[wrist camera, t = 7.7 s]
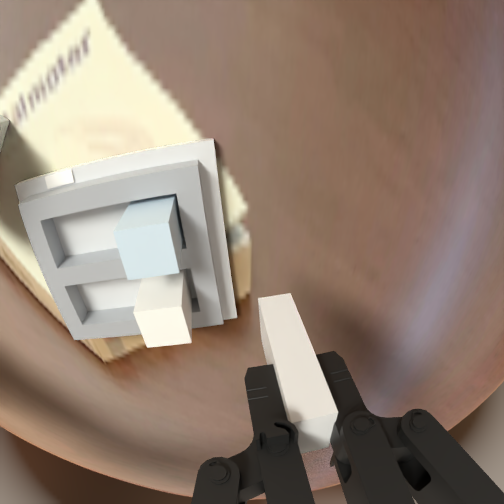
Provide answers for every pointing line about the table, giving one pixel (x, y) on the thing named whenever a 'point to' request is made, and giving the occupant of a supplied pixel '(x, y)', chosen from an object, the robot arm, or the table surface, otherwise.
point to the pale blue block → (150, 237)
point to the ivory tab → (165, 310)
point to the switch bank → (103, 240)
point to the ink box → (3, 129)
